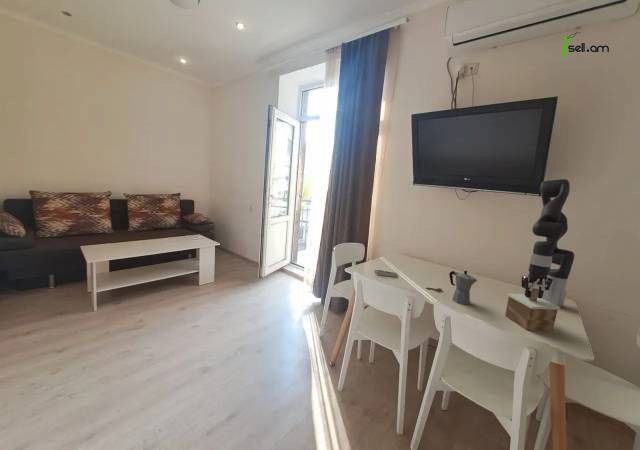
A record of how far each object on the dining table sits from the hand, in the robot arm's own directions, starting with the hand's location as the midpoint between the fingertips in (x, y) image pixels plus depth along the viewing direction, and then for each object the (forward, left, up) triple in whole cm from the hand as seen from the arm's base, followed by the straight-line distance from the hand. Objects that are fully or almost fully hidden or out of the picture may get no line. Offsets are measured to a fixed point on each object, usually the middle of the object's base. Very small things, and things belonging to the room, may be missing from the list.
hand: (533, 297), depth 123 cm
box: (0, 0, -13) cm, 13 cm away
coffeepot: (+21, -23, -14) cm, 34 cm away
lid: (0, 0, -2) cm, 2 cm away
